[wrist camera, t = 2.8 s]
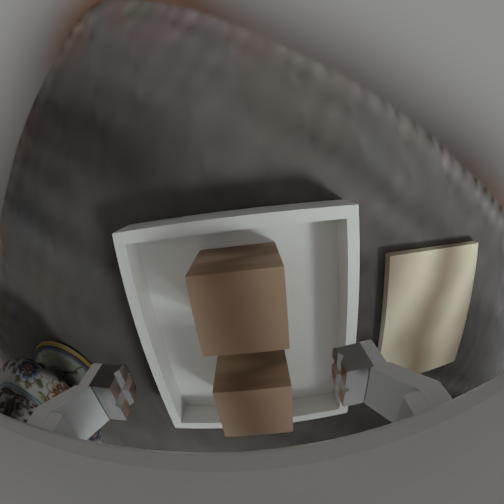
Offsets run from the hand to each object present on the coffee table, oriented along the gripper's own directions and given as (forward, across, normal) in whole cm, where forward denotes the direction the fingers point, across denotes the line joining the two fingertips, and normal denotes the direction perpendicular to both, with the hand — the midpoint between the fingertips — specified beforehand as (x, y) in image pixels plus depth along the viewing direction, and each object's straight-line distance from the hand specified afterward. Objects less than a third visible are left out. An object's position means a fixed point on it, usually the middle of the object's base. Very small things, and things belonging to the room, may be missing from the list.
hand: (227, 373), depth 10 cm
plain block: (+10, 0, -8) cm, 13 cm away
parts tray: (+11, 0, -4) cm, 12 cm away
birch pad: (+10, +16, -6) cm, 21 cm away
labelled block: (+10, 0, 0) cm, 10 cm away
